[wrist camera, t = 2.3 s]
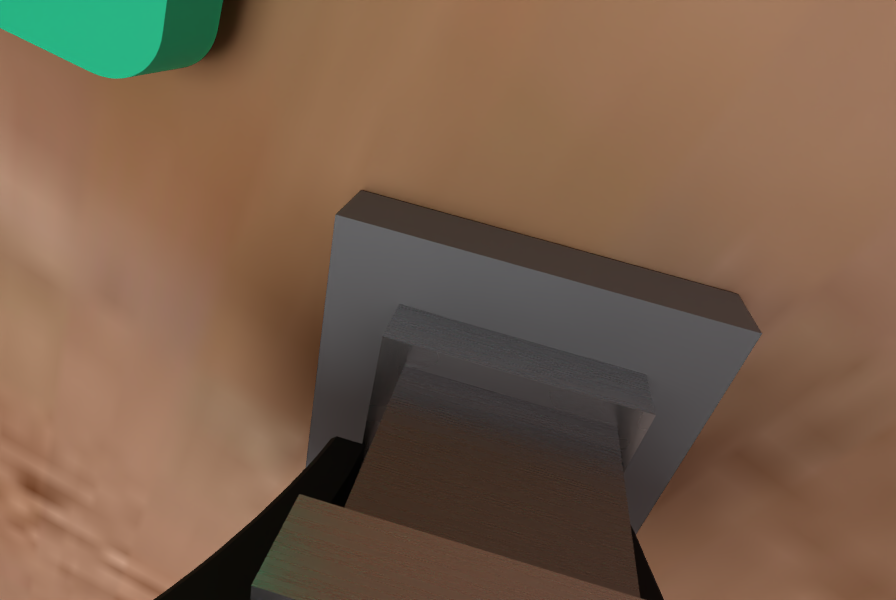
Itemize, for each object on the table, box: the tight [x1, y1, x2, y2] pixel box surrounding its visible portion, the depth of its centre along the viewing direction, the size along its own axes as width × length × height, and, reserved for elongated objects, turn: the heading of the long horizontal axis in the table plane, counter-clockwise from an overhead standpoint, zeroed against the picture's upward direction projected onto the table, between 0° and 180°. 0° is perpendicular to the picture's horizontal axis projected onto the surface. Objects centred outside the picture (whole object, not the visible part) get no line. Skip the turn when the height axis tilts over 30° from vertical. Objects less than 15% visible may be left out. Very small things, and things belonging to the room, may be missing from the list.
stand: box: [306, 190, 762, 534], centre depth 13 cm, size 8×10×2 cm
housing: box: [250, 304, 656, 600], centre depth 10 cm, size 5×7×6 cm
